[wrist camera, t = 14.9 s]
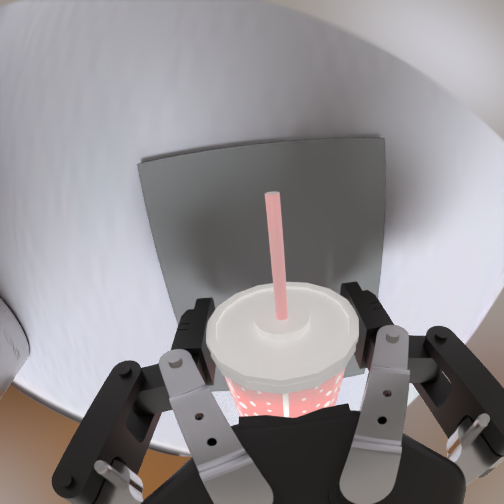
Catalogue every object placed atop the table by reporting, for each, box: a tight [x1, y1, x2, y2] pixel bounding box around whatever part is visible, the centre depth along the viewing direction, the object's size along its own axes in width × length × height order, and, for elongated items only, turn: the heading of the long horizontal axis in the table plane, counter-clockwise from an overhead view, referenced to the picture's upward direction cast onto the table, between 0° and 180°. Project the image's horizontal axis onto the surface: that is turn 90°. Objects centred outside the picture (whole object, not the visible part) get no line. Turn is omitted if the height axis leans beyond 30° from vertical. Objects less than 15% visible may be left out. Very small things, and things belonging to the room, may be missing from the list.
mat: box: [137, 138, 385, 391], centre depth 16 cm, size 12×16×1 cm
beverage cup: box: [206, 191, 359, 418], centre depth 12 cm, size 6×6×14 cm
